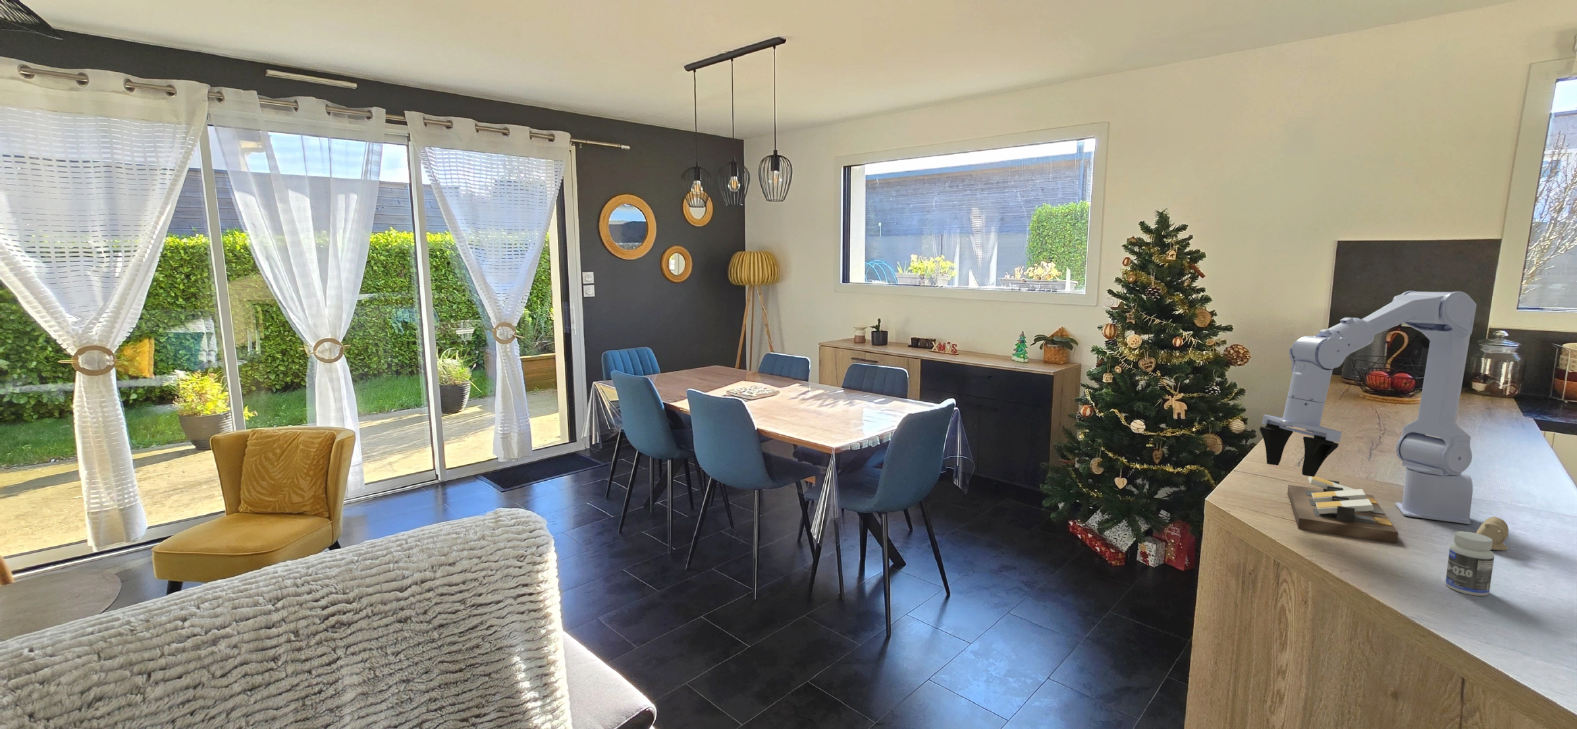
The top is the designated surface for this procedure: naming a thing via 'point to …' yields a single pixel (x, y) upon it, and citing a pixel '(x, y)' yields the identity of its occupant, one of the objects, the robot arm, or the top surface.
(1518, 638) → the top surface
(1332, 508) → the rocker near
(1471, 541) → the pill bottle
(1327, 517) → the switch panel
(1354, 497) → the rocker middle
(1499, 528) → the decorative ornament
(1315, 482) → the block
